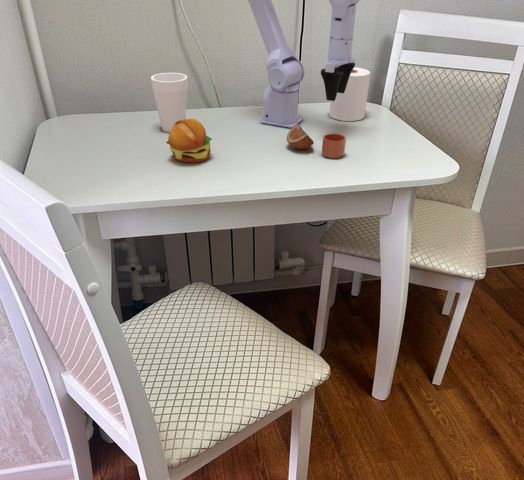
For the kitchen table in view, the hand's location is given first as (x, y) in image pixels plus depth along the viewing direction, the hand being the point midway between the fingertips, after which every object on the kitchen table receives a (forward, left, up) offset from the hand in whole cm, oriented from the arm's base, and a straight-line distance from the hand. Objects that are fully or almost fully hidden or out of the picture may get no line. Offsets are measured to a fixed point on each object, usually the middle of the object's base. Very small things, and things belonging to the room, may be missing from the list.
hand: (335, 96), depth 143 cm
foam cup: (-40, -17, -10) cm, 45 cm away
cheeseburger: (-25, -33, -10) cm, 42 cm away
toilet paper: (-1, +16, -10) cm, 19 cm away
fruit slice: (-4, -15, -10) cm, 18 cm away
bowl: (+6, -16, -9) cm, 19 cm away
